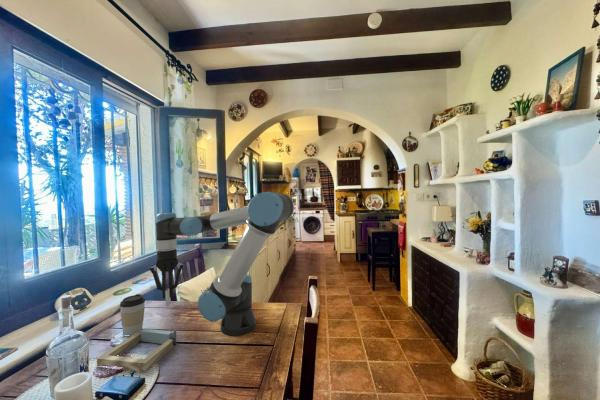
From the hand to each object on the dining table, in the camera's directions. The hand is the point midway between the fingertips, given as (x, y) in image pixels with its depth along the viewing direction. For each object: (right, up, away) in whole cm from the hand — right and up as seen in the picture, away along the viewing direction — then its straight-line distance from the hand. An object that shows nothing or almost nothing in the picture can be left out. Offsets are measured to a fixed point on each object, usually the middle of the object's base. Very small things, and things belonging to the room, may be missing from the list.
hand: (168, 305), depth 106 cm
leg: (-1, -11, -7) cm, 13 cm away
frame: (-2, -12, -15) cm, 19 cm away
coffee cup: (-16, -12, +1) cm, 20 cm away
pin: (+7, -12, -9) cm, 16 cm away
